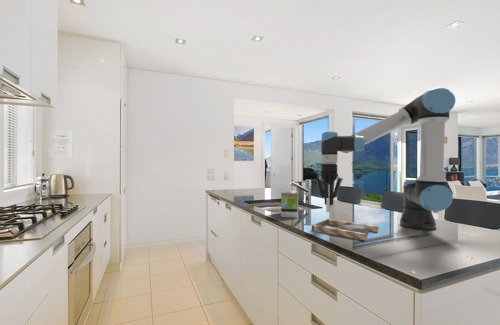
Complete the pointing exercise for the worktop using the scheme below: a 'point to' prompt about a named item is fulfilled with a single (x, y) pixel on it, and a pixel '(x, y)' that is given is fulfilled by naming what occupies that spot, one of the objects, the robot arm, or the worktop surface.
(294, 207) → the tea box
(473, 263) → the worktop surface
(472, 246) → the worktop surface
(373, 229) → the channel
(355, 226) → the stone block
